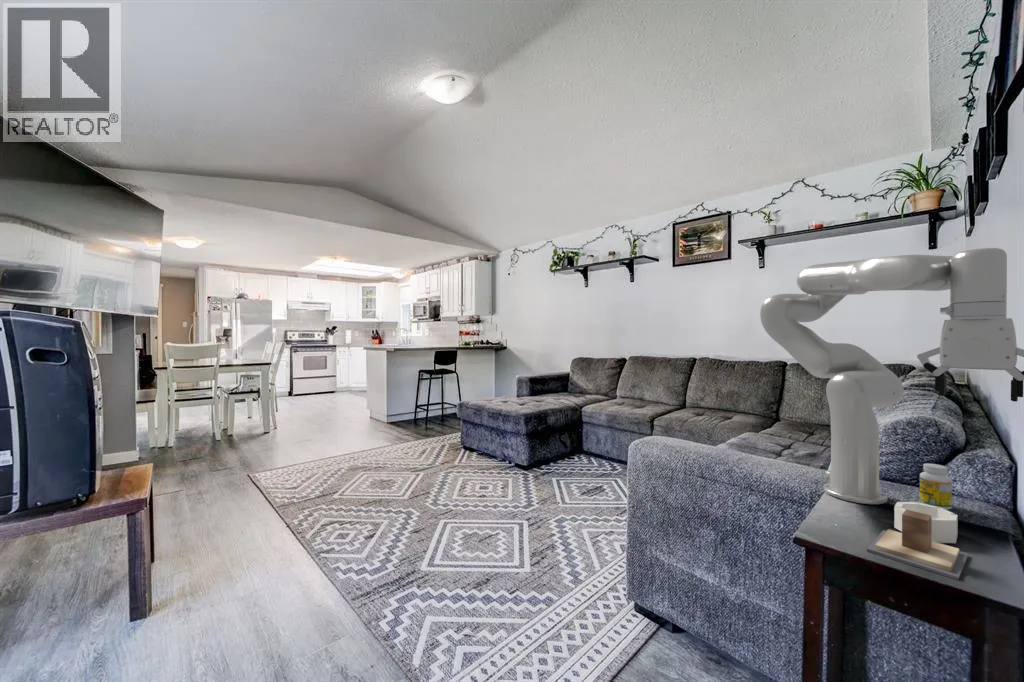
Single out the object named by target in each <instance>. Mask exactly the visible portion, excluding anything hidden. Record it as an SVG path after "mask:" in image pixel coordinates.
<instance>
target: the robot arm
mask: <svg viewBox="0 0 1024 682" xmlns="http://www.w3.org/2000/svg"><path fill="white" fill-rule="evenodd" d="M1007 268H1008V254H1007V252H1006V251H1005V250H1004V249H1002V248H1000V247H999V248H998V247H985V248H983V247H982V248H976V249H975V248H974V249H967V250H962V251H959V252H956V253H954V254H953V255H934V254H932V255H931V254H903V255H893V256H882V257H873V258H866V259H859V260H850V261H849V260H848V261H840V262H839V261H838V262H830V263H828V262H826V263H819V264H818V263H817V264H812V265H810V266H807V267H805V268H804V269H802V270H801V271H800V272H799V273H798V276H797V278H796V283H797V287H798V289H800V291H802V292H803V293H777V294H774V295H772V296H769V297H767V298H766V299H765V300H764V301H763V302H762V305H761V306H760V312H759V315H760V317H759V319H760V322H761V325H762V327H763V329H764V331H765V332H766V334H767V335H769V337H770V338H771V339H772V340H773V341H774V342H775V343H777V344H778V345H780V346H781V348H783V349H784V350H785V351H786V352H787V353H789V355H790V356H791V357H792V358H793V359H794V360H795V361H796V362H797V363H798V364H800V366H802V367H803V369H805V370H806V371H807V372H808V373H809V374H810V375H812V376H813V377H816V378H819V379H829V380H828V382H827V383H826V386H825V387H826V388H825V391H826V392H825V393H826V399H827V403H828V407H829V415H830V417H829V418H830V439H831V440H830V470H826V471H825V475H826V476H827V477H829V482H825V483H824V484H823V491H824V492H825V493H826V494H828V495H830V496H832V497H834V498H837V499H841V500H844V501H848V502H852V503H858V504H866V505H882V504H885V503H887V502H888V495H887V494H886V493H885V492H884V491H881V490H880V428H879V427H880V425H879V422H878V420H877V417H876V414H875V412H874V408H884V407H890V406H893V405H895V404H898V403H899V402H900V400H902V399H903V397H904V393H905V391H904V385H903V383H902V380H900V378H899V377H898V376H897V375H896V374H895V373H894V372H893V371H892V370H891V369H889V368H888V367H887V366H886V365H884V364H883V363H882V362H880V361H879V360H878V359H877V358H876V357H874V356H873V355H871V354H870V353H869V352H867V351H866V350H865V349H864V348H861V347H860V346H857V345H856V344H851V343H846V342H845V343H843V342H839V343H837V342H836V343H833V342H829V341H826V340H825V339H823V338H821V337H820V336H819V335H818V334H817V333H816V332H815V331H813V330H812V329H811V328H809V327H808V326H806V325H803V324H801V323H812V322H814V321H815V322H816V321H817V320H819V319H821V318H822V317H823V316H825V315H826V314H827V313H829V312H830V310H832V309H833V308H834V307H835V306H836V305H837V304H839V303H840V302H841V301H842V300H843V299H844V298H845V297H846V296H848V295H849V296H850V295H853V296H854V295H864V294H866V293H868V292H881V291H883V292H884V291H885V292H886V291H888V292H889V291H926V292H929V291H930V292H932V291H933V292H937V291H938V292H941V291H947V290H950V292H949V293H950V294H949V295H950V298H949V303H950V304H949V305H947V306H946V307H939V312H940V315H946V316H947V315H948V316H949V317H950V318H949V319H944V322H943V325H942V329H941V335H940V346H939V347H936V348H932V349H931V350H927V351H924V352H921V353H919V354H917V356H916V358H917V359H918V360H919V362H920V364H922V367H923V368H924V369H925V370H926V371H928V372H929V373H931V374H932V375H933V376H934V391H935V392H938V396H942V397H943V396H946V395H947V376H946V374H945V373H946V372H947V371H948V370H949V369H966V370H986V371H987V370H988V371H989V370H990V371H1005V372H1007V373H1008V374H1009V375H1011V376H1012V379H1011V380H1010V401H1012V402H1016V403H1017V402H1018V401H1019V400H1018V399H1019V398H1023V397H1024V370H1022V371H1021V370H1020V369H1019V368H1018V367H1016V365H1017V361H1018V356H1020V357H1023V358H1024V349H1023V348H1020V347H1017V346H1018V345H1017V335H1016V330H1015V329H1016V328H1015V324H1014V321H1013V318H1011V317H1007V315H1008V313H1007V308H1008V307H1007V303H1008V302H1007V301H1008V300H1007V294H1008V290H1007V288H1008V280H1007V279H1008V272H1007V271H1008V269H1007ZM938 355H939V363H940V366H938V367H937V366H935V364H933V363H932V362H931V361H930V357H931V358H932V357H934V356H938Z"/></svg>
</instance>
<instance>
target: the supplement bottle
mask: <svg viewBox="0 0 1024 682" xmlns="http://www.w3.org/2000/svg"><path fill="white" fill-rule="evenodd" d="M922 469H923V471H922V472H920V473H919V503H920V502H921V503H922V504H927V505H931V506H936V507H940V508H943V509H945V510H947V511H950V510H951V509H952V506H953V501H952V499H953V497H952V496H953V493H952V491H953V489H952V485H953V484H952V482H953V481H952V478H951V477H950V476H949V475H948V467H947V466H945V465H942V464H938V463H937V464H936V463H929V462H928V463H923V466H922ZM949 509H950V510H949Z"/></svg>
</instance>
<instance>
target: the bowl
mask: <svg viewBox="0 0 1024 682" xmlns="http://www.w3.org/2000/svg"><path fill="white" fill-rule="evenodd" d="M905 510H911V511H915V512H919V513H923V514H927V515H932V534H931V541H933V542H937V543H940V544H957V539H958V530H959V529H958V526H959V525H958V523H959V522H958V521H959V520H958V516H959V515H958V514H956V513H954V512H952V511H950V510H945V509H943V508H940V507H936V506H931V505H927V504H922V503H920V502H917V501H896V503H895V504H894V508H893V511H894V513H893V515H894V516H893V517H894V518H893V519H894V522H893V526H894V529H897V530H899V531H900V532H902V514H903V513H904V511H905Z"/></svg>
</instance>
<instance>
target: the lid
mask: <svg viewBox="0 0 1024 682" xmlns="http://www.w3.org/2000/svg"><path fill="white" fill-rule="evenodd" d="M885 531H886V532H885V534H884V535H883V536H882V537H881V538H880V539H879V541H878V542H877V543H876V544H875V549H877V550H880V551H884V552H887V553H890V554H893V555H897V556H900V557H903V558H906V559H910V560H913V561H916V562H919V563H923V564H926V565H929V566H932V567H936V568H939V569H942V570H945V571H949V572H951V570H952V568H953V566H954V564H955V561H956V559H957V557H958V555H959V551H960V548H958V547H954V546H952V545H951V546H950V545H947V544H945V543H937V542H933V541H931V534H932V515H927V514H923V513H919V512H915V511H911V510H905V511H904V513H903V514H902V531H900V532H899V531H896V530H893V529H892V530H891V529H889V528H888V529H887V530H885Z"/></svg>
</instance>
